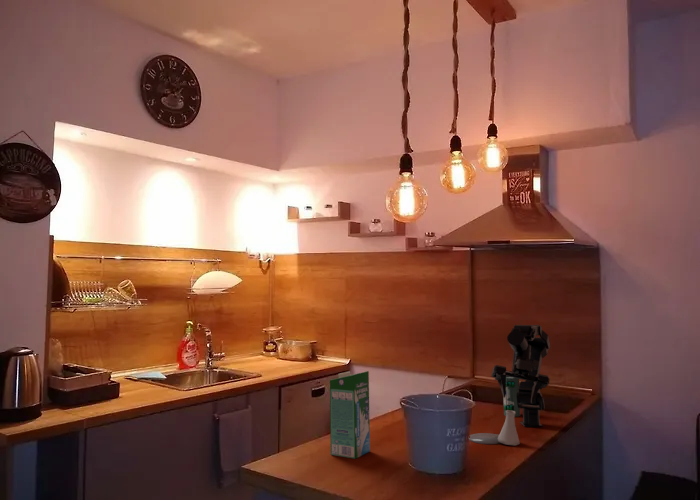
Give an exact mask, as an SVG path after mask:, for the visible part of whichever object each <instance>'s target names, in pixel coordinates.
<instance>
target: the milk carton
mask: <svg viewBox="0 0 700 500" xmlns="http://www.w3.org/2000/svg"><path fill="white" fill-rule="evenodd" d="M337 375H338V377H337V378H333V379H329V408H330V409H329V413H330V414H329V420H330V423H329V427H330V428H329V429H330V455H331V456H336V457H342V458H348V459H355V460H356V459H358V458H361V457H362V456H364V455H366V454H368V453H370V452H371V437H370V436H371V435H370V434H371V432H370V431H371V429H370V381H369V380H370V378H369V377H370V376H369V375H370V372H369V370H366V371H362V372H357V373H354V374H351V371H350V370H349V371H345V372H341V373H338V374H337Z"/></svg>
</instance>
